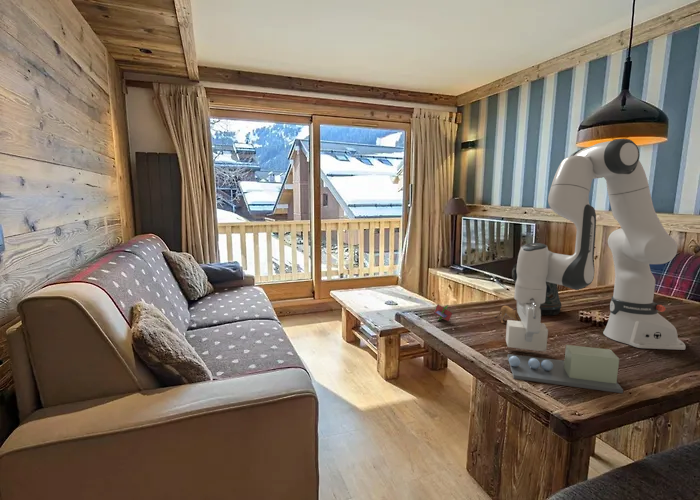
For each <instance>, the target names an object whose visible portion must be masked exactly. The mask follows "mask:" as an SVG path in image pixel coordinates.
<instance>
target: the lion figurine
mask: <svg viewBox="0 0 700 500" xmlns="http://www.w3.org/2000/svg"><path fill="white" fill-rule="evenodd" d="M505 316H508V317H509V318H510V319H513V320H514V321H521V319H520V317H519V315H518V312H517V307H515V308H512V307H510V306H509V305H502V306H501V308H500V311H499V313H498V315H496V316H494V319H498V318H499V317H500V320H501V324H505V322H506V321H504V320H505V318H504V317H505Z"/></svg>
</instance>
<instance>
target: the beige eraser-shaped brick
mask: <svg viewBox="0 0 700 500" xmlns="http://www.w3.org/2000/svg"><path fill="white" fill-rule="evenodd" d="M525 334H526V330H525V328H524V325H523V323H522V321H515V320H514V319H513V320H512V319H507V321H506V333H505V342H506V346H507V348H512V349H513V348H514V349H520V350H529V351H537V352H547V345H548V337H549V336H548V335H549V329H548V328H547V326H546V324H545V323H544V322H543V323H541V324H540V332H539V334H533V337H532V342H527V341H526V340H525Z"/></svg>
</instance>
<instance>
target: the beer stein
mask: <svg viewBox="0 0 700 500" xmlns="http://www.w3.org/2000/svg"><path fill="white" fill-rule="evenodd" d="M516 269H517V263H516V264H514V265H513V268H512V270H511V276H512V280H513V282H514V284H515V283H516V280H517V272H516ZM546 286H547V287H546V298H545V303H543V304H540V307H539V308H540V310H541V316H557V315H559V314H560V313H561V312H560V311H561V308H562V302H561V299H560V294H559V288H558V284H554V283H549V282H546Z"/></svg>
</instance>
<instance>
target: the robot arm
mask: <svg viewBox="0 0 700 500" xmlns="http://www.w3.org/2000/svg"><path fill="white" fill-rule="evenodd" d="M600 178H601V179H602V178H604V179H605V180H606V190H607V195H608V200H609V205H610V208H611V213H612V216H613V218H614V219H615V221H616V222H617V223H618V225H619V226H620V228H618V229H615V230H613V231H612V232H611V233H610V234H609V236H608V238H607V246H608V248H609V249H610V252H611V254H612V260H613V267H614V286H613V287H614V288H613V295H612V296H611V300H610V302H609V303H610V304H609V311H610V313H609V317H608V320H607V323H606V326H605V327H604V330H603V335H604V336H605V337H607V338H608V339H611V340H613V341H616V342H619V343H623V344H625V345H626V344H627V345H629V346H631V347H635V348H638V349H652V350H653V349H654V350H656V349H657V350H677V351H678V350H679V351H680V350H681V351H682V350H683V351H684V350H686V344H685V343H684V342H683V341H682V340H681V339H680V338H678V331H677V328H676V327H675V326H674V324H672V323H671V322H670V321H669V320H667V319H666V318H665V317H664V316H662V315H661V314H660V313H658V312H661V313H664V312H665V311H666V310H667V309H666V307H665V306H664V305H663V304H658V303H656V302H654V296H655V289H656V278H655V276H654V274H653V273H652V270H651V267H650V265H664V264H667V263H668V262H670V261H673V259H674V258H675V257H676V255H677V252H678V244H677V241H676V240H675V239H674V237H672V236H671V235H670V234H669V233H668V232H667V231H666V229H665V226H663V224H662V222H661V221H660V218H659V216H658V215H657V213H656V210H655V207H654V203H653V199H652V195H651V191H650V190H651V189H650V185H649V180H648V177H647V175H646V172H645V169H644V167H643V164H642V163H641V161H640V149H639V147H638V145H637V144H636V143H635V142H634V141H633V140H631V139H629V138H617V139H613V140H609V141H604V142H598V143H596V144H594V145H591V146H588V147H586V148H582V149H578V150H577V151H574V152H573V153H572V154H570V155H569V156H567V157H565V158H564V159H563V160H562V161H561V162H560V164H559V165H558V167H557V169H556V172H555V174H554V177H553V179H552V183H551V185H550V188H549V192H548V196H547V197H548V198H547V201H548V202H547V203H548V206H549V208H550V210H552V211H553V212H554V213H555V214H557V215H558V216H559V217H562V218H563V219H566V220H567V221H570V222H571V223H573V224H574V226H575V228H576V235H575V245H574V253H573V254H571V255H569V254H562V253H557V252H553V251H551V250H550V249H549V248H548V245H546V244H545V243H541V242H530V243H526V244H524V245H521V246H520V248H519V252H518V255H517V263H516V264H517V269H516V272H517V280H516V283H515V282H514V296H513V297H514V300H515V301H516V308H517V312H518V315H519V317H520V319H521V321H522V323H523V325H524V328H525V330H526V334H525V340H526V341H527V342H532V337H533V334H539V332H540V324H541V321H542V319H541V318H542V315H541V310H540V308H539V307H540V304H543V303H545V298H546V287H547V286H546V282H549V283H554V284H557V286H564V287H565V288H569V289H571V290H575V291H578V290H579V291H580V290H582V289H585V288H586V287H588V286H590V285H591V284H592V283H593V281H594V279H595V245H596V232H597V214H596V210H595V207H593V206H592V205H591V204H590V202H589V201H590V200H589V197H590V191H591V187H592V182H593V180H594V179H595V180H596V179H600Z"/></svg>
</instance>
